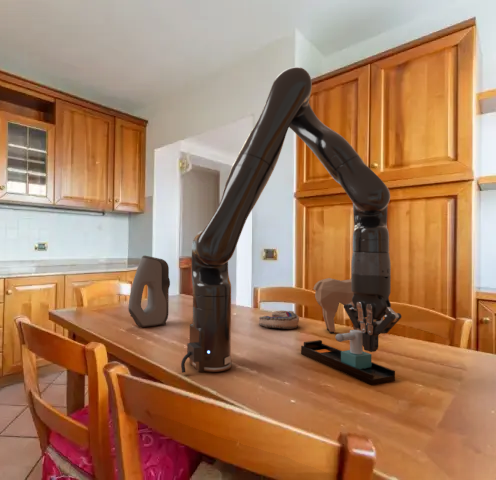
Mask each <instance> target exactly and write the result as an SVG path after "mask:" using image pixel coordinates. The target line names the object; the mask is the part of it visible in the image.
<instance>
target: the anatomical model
mask: <svg viewBox="0 0 496 480" xmlns="http://www.w3.org/2000/svg"><path fill="white" fill-rule="evenodd" d="M258 319H259V320H258V325H259V326H262V327H264V328H269V329H271V328H273V329H280V330H293V329H296V328H298V327H299V322H300V318H299V315H298V314H296V313H295V311H294V310H275V311H273V312H272V313H271V316H270V315H263V316H259V318H258Z"/></svg>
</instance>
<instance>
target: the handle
mask: <svg viewBox="0 0 496 480" xmlns="http://www.w3.org/2000/svg"><path fill="white" fill-rule="evenodd" d="M334 338H335V340H336V341H337V342H340V343H342V342H346V341H349V349H347V350H341V361H342V362H344V363H346V364H349V365H351V366H354V367H356V368H359V369H364V368H370V367H371V366H372V362H373V359H372V358H373V357H372V354H371V353H370V352H367V351H365V350H364V347H363V345H362V332H361V331H359V330H354V329H350V330H349V332H346V333H344V332H343V333H337V334H336V335H335V337H334Z"/></svg>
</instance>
